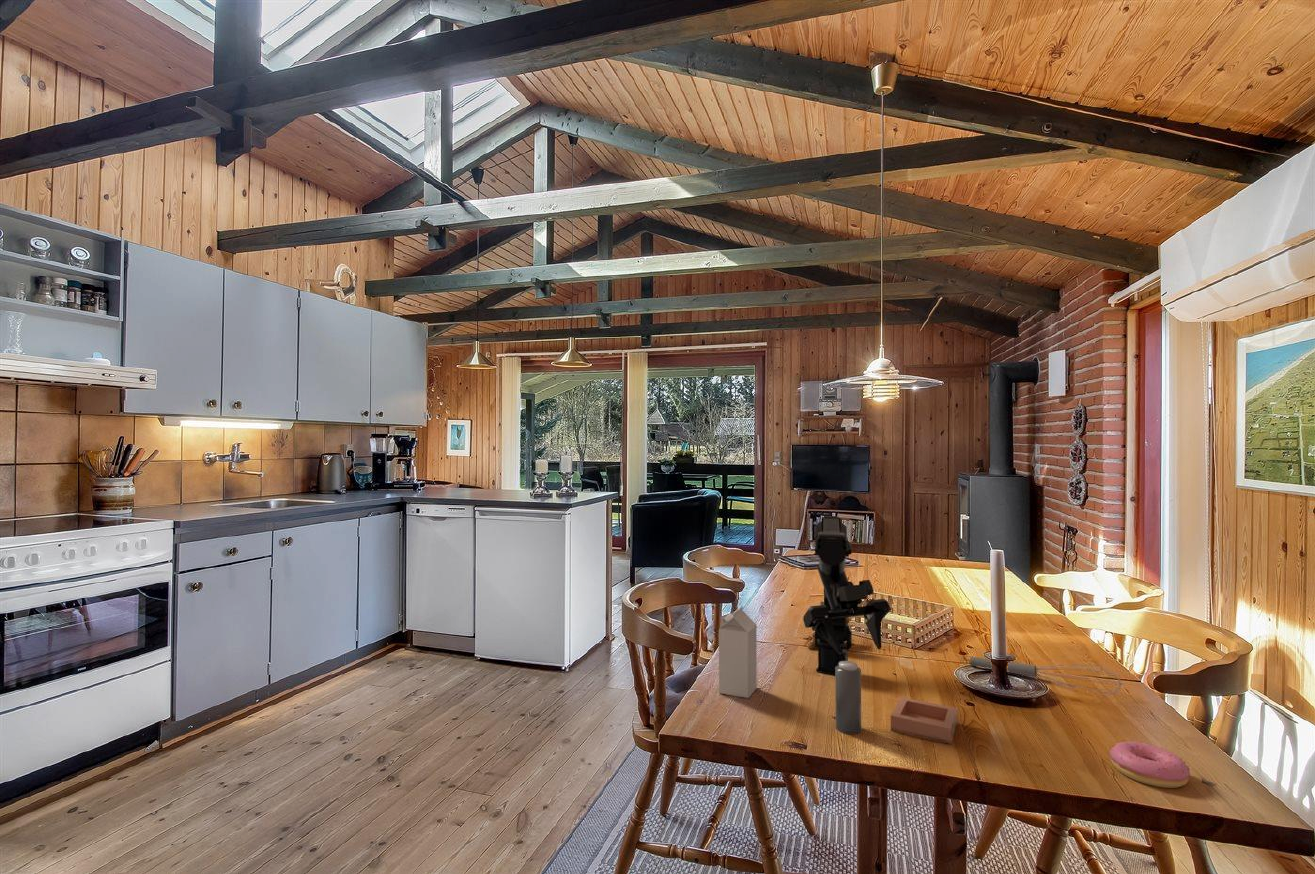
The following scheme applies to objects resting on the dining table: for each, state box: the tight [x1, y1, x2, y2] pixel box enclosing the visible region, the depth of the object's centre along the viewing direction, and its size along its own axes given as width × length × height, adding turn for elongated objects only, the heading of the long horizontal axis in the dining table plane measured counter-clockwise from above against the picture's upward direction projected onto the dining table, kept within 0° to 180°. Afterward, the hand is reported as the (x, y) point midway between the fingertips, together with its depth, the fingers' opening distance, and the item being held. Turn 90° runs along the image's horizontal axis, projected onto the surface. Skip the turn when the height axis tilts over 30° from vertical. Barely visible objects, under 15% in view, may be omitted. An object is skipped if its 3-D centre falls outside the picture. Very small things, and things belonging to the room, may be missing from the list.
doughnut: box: [1108, 740, 1191, 789], centre depth 106 cm, size 11×11×4 cm
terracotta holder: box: [890, 696, 958, 745], centre depth 124 cm, size 11×11×3 cm
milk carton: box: [718, 605, 758, 699], centre depth 143 cm, size 7×7×19 cm
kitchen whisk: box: [961, 655, 1123, 697], centre depth 150 cm, size 6×34×6 cm, turn 49°
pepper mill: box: [834, 660, 862, 735], centre depth 123 cm, size 5×5×13 cm
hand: (860, 650), depth 130 cm, fingers open, 9 cm apart
